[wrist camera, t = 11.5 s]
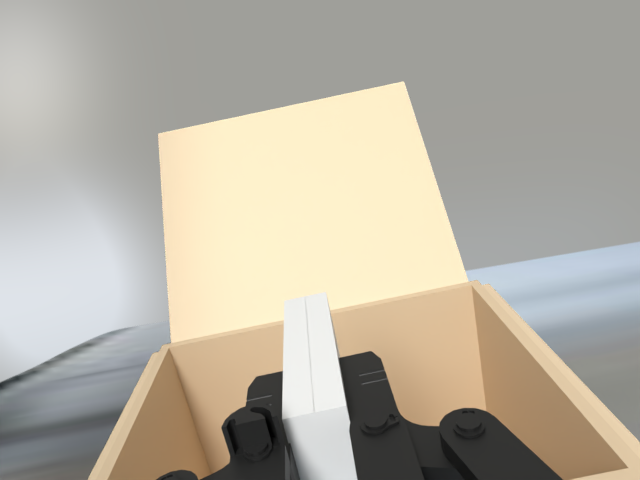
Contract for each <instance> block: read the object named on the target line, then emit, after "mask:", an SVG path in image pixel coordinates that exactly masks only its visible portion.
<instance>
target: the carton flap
mask: <svg viewBox="0 0 640 480" xmlns="http://www.w3.org/2000/svg"><path fill="white" fill-rule="evenodd" d="M158 139H159V156H160V172H161V188H162V205H163V220H164V237H165V253H166V269H167V286H168V302H169V319H170V335H171V343H174V342H179V341H184V340H189V339H194V338H198V337H203V336H208V335H213V334H218V333H223V332H227V331H232V330H237V329H242V328H247V327H252V326H257V325H261V324H266V323H271V322H276V321H281V320H284V301H285V300H290V299H295V298H299V297H304V296H309V295H313V294H318V293H323V292H326V294H327V299H328V303H329V308H330V310H334V309H339V308H344V307H349V306H354V305H358V304H363V303H368V302H373V301H378V300H383V299H388V298H392V297H397V296H402V295H407V294H412V293H417V292H421V291H426V290H431V289H436V288H441V287H446V286H451V285H455V284H460V283H465V282H468V279H467V275H466V272H465V269H464V267H463V263H462V260H461V257H460V254H459V251H458V248H457V245H456V241H455V238H454V235H453V232H452V229H451V226H450V223H449V220H448V217H447V214H446V211H445V208H444V205H443V201H442V198H441V195H440V192H439V189H438V186H437V183H436V180H435V176H434V174H433V170H432V168H431V164H430V161H429V158H428V155H427V152H426V149H425V145H424V142H423V139H422V136H421V133H420V130H419V127H418V124H417V121H416V118H415V115H414V111H413V108H412V105H411V102H410V99H409V96H408V93H407V90H406V87H405V84H404V82H399V83H394V84H390V85H385V86H380V87H376V88H371V89H366V90H361V91H357V92H352V93H347V94H343V95H338V96H333V97H329V98H324V99H320V100H314V101H310V102H305V103H301V104H296V105H291V106H286V107H282V108H277V109H272V110H267V111H263V112H259V113H253V114H249V115H244V116H240V117H234V118H230V119H225V120H220V121H215V122H211V123H206V124H201V125H197V126H192V127H187V128H183V129H178V130H173V131H169V132H164V133H159V134H158Z"/></svg>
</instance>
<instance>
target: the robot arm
mask: <svg viewBox="0 0 640 480" xmlns="http://www.w3.org/2000/svg"><path fill="white" fill-rule="evenodd" d="M246 400H247V402H246V406H245V407H242V408H240V409H238V410H236V411H235V412H233V413H231V414H230V415H229V416H228V417H227V418H226V419H225V421H224V423H223V425H222V427H221V429H222V432H223V435H224V438H225V442H226V445H227V448H228V451H229V454H230V462H229V464H227V465H226V466H225V467H223V468H222V469H220V470H218V471H217V472H215V473H213V474H211V475H208V476H206V477H204V478H202V479H200V480H563V479H562V478H561V477H560V476H559V475H557V474H556V473H555V472H554V471H553V470H552V469H551V468H550V467H549V466H548V465H547V464H546V463H544V462H543V461H542V460H541V459H540V458H539V457H538V456H537V455H536V454H535V453H534V452H533V451H532V450H530V449H529V448H528V447H527V446H526V445H525V444H524V443H523V442H522V441H521V440H520V439H519V438H517V437H516V436H515V435H514V434H513V433H512V432H511V431H510V430H509V429H508V428H507V427H506V426H505V425H503V424H502V423H501V422H500V421H499V420H498V419H497V418H496V417H495V416H493V415H492V414H490V413H489V412H487V411H484V410H481V409H477V408H461V409H457V410H453V411H451V412H450V413H448V414H446V415H445V416H444V417H443V418H442V420H441V421H440V424H439V426H425V425H418V424H415V423H412V422H410V421H408V420H406V419H405V418H404V417H403V416H402V415H401V414H400V412H399V410H398V408H397V405H396V402H395V399H394V396H393V393H392V390H391V387H390V384H389V381H388V378H387V375H386V372H385V369H384V366H383V363H382V360H381V358H380V357H378V356H377V355H376V354H375V353H373V352H372V351H368V352H364V353H359V354H354V355H349V356H345V357H340V354H339V349H338V344H337V340H336V335H335V331H334V326H333V322H332V317H331V312H330V308H329V303H328V299H327V294H326V292H323V293H318V294H313V295H309V296H304V297H299V298H295V299H290V300H285V301H284V339H283V371H280V372H275V373H271V374H266V375H261V376H257V377H255V379H254V380H253V382H252V383H251V384H250V386H249V387H248V391H247V399H246ZM156 480H198V478H197V475H196V474H194V473H193V472H192V471H188V470H177V471H172V472H169V473H167V474H165V475H162V476H160V477H159V478H158V479H156Z"/></svg>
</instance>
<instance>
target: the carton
mask: <svg viewBox="0 0 640 480" xmlns="http://www.w3.org/2000/svg"><path fill="white" fill-rule="evenodd" d="M330 312H331V317H332V322H333V326H334V331H335V335H336V340H337V344H338V349H339V354H340V357H345V356H349V355H354V354H359V353H364V352H368V351H372V352H373V353H375V354H376V355H377V356H378V357H380V358H381V360H382V363H383V366H384V369H385V372H386V375H387V378H388V381H389V384H390V387H391V390H392V393H393V396H394V399H395V402H396V405H397V408H398V410H399V412H400V414H401V415H402V416H403V417H404V418H405V419H406V420H408V421H410V422H412V423H415V424H418V425H425V426H439V424H440V421H441V420H442V418H443V417H444V416H445V415H446V414H448V413H450V412H451V411H453V410H457V409H461V408H477V409H481V410H484V411H487V412H489V413H490V414H492V415H493V416H495V417H496V418H497V419H498V420H499V421H500V422H501V423H502V424H503V425H505V426H506V427H507V428H508V429H509V430H510V431H511V432H512V433H513V434H514V435H515V436H516V437H517V438H519V439H520V440H521V441H522V442H523V443H524V444H525V445H526V446H527V447H528V448H529V449H530V450H532V451H533V452H534V453H535V454H536V455H537V456H538V457H539V458H540V459H541V460H542V461H543V462H544V463H546V464H547V465H548V466H549V467H550V468H551V469H552V470H553V471H554V472H555V473H556V474H557V475H559V476H560V477H561V478H562V479H563V480H640V442H639V441H638V440H637V439H636V438H635V437H634V436H633V435H632V434H631V433H630V432H629V430H628V429H627V428H626V427H625V426H624V425H623V424H622V423H621V422H620V421H619V420H618V419H617V418H616V417H615V416H614V415H613V414H612V413H611V412H610V411H609V409H608V408H607V407H606V406H605V405H604V404H603V403H602V402H601V401H600V400H599V399H598V398H597V397H596V396H595V395H594V394H593V393H592V392H591V391H590V389H589V388H588V387H587V386H586V385H585V384H584V383H583V382H582V381H581V380H580V379H579V378H578V377H577V376H576V375H575V374H574V373H573V372H572V371H571V370H570V368H569V367H568V366H567V365H566V364H565V363H564V362H563V361H562V360H561V359H560V358H559V357H558V356H557V355H556V354H555V353H554V352H553V351H552V350H551V349H550V347H549V346H548V345H547V344H546V343H545V342H544V341H543V340H542V339H541V338H540V337H539V336H538V335H537V334H536V333H535V332H534V331H533V330H532V329H531V327H530V326H529V325H528V324H527V323H526V322H525V321H524V320H523V319H522V318H521V317H520V316H519V315H518V314H517V313H516V312H515V311H514V310H513V309H512V308H511V306H510V305H509V304H508V303H507V302H506V301H505V300H504V299H503V298H502V297H501V296H500V295H499V294H498V293H497V292H496V291H495V290H494V289H493V288H492V287H491V285H490V284H485V285H481V284H480V283H479V281H478V280H475V281H470V282H465V283H460V284H455V285H451V286H446V287H441V288H436V289H431V290H426V291H421V292H417V293H412V294H407V295H402V296H397V297H392V298H388V299H383V300H378V301H373V302H368V303H363V304H358V305H354V306H349V307H344V308H339V309H334V310H330ZM283 339H284V320H281V321H276V322H271V323H266V324H261V325H257V326H252V327H247V328H242V329H237V330H232V331H227V332H223V333H218V334H213V335H208V336H203V337H198V338H194V339H189V340H184V341H179V342H174V343H169V344H164V345H162V347H161V349H160V351H159V352H155V353H153V354H152V356H151V358H150V359H149V361H148V363H147V365H146V367H145V369H144V371H143V373H142V375H141V377H140V379H139V381H138V383H137V385H136V387H135V389H134V391H133V392H132V394H131V396H130V398H129V400H128V402H127V404H126V406H125V408H124V410H123V412H122V414H121V416H120V418H119V420H118V422H117V423H116V425H115V427H114V429H113V431H112V433H111V435H110V437H109V439H108V441H107V443H106V445H105V447H104V449H103V451H102V453H101V455H100V456H99V458H98V460H97V462H96V464H95V466H94V468H93V470H92V472H91V474H90V476H89V478H88V480H156V479H158V478H159V477H160V476H162V475H165V474H167V473H169V472H172V471H177V470H188V471H192V472H193V473H194V474H196V475H197V478H198V480H200V479H202V478H204V477H206V476H208V475H211V474H213V473H215V472H217V471H218V470H220V469H222V468H223V467H225V466H226V465H227V464H229V462H230V454H229V451H228V448H227V445H226V442H225V438H224V435H223V432H222V429H221V427H222V425H223V423H224V421H225V419H226V418H227V417H228V416H229V415H230V414H231V413H233V412H235V411H236V410H238V409H240V408H242V407H245V406H246V402H247V400H246V399H247V391H248V387H249V386H250V384H251V383H252V382H253V380H254V379H255V377H257V376H261V375H266V374H271V373H275V372H280V371H283Z"/></svg>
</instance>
